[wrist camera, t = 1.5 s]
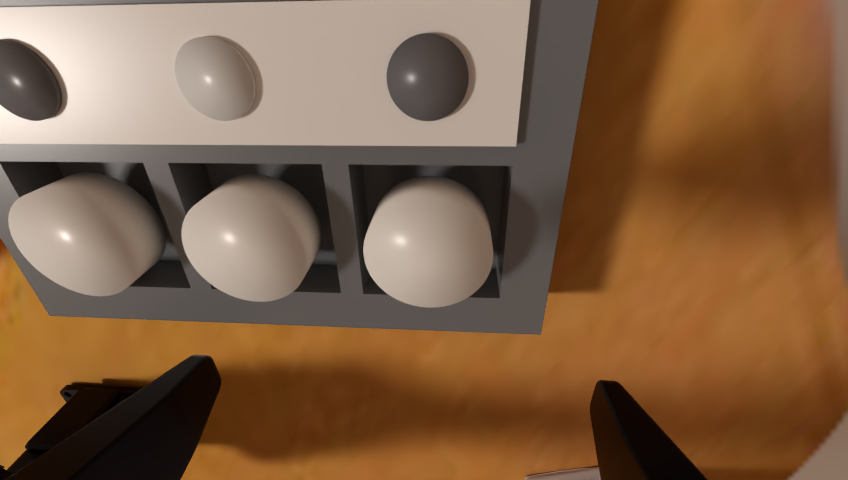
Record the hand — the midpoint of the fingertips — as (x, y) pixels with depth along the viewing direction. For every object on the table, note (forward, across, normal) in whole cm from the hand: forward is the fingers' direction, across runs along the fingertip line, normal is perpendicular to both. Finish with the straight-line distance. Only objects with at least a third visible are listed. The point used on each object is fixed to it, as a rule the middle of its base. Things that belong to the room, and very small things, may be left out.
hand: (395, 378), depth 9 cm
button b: (+8, +7, +1) cm, 11 cm away
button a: (+8, 0, +1) cm, 8 cm away
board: (+10, +7, -1) cm, 13 cm away
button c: (+8, +14, +1) cm, 16 cm away
